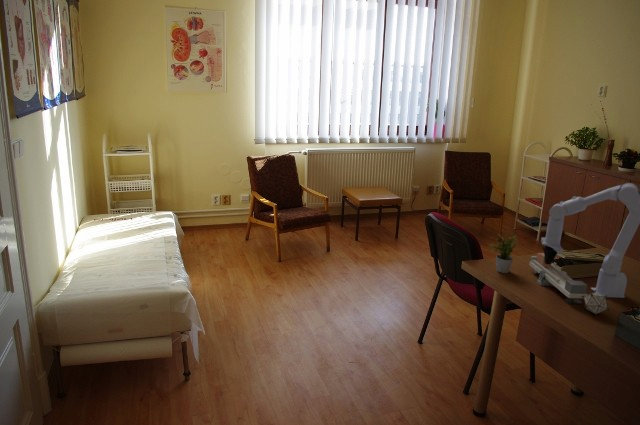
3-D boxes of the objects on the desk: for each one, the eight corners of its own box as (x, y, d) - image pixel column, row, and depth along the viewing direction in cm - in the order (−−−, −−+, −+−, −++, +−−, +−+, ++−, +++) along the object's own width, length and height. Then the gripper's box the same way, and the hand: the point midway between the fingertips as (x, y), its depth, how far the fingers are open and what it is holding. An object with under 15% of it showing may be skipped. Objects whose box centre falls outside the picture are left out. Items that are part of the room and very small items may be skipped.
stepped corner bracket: (589, 304, 185) (592, 292, 184) (561, 304, 184) (563, 291, 183) (549, 272, 215) (551, 261, 213) (525, 271, 214) (526, 260, 213)
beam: (587, 298, 184) (590, 285, 182) (567, 298, 183) (570, 285, 182) (545, 265, 215) (547, 254, 214) (528, 264, 215) (530, 253, 214)
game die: (597, 323, 179) (621, 309, 173) (581, 317, 176) (604, 303, 170) (587, 302, 185) (609, 288, 179) (571, 297, 182) (593, 282, 176)
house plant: (493, 261, 225) (498, 226, 220) (524, 269, 216) (530, 234, 212) (480, 269, 214) (485, 233, 210) (511, 278, 206) (518, 241, 201)
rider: (550, 267, 207) (551, 256, 206) (542, 267, 207) (544, 256, 206) (543, 263, 213) (544, 253, 212) (536, 263, 213) (537, 252, 212)
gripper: (536, 227, 209) (530, 257, 212) (553, 238, 195) (547, 270, 198) (552, 227, 209) (546, 257, 213) (570, 239, 195) (564, 270, 199)
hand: (548, 263), depth 206 cm, fingers closed
